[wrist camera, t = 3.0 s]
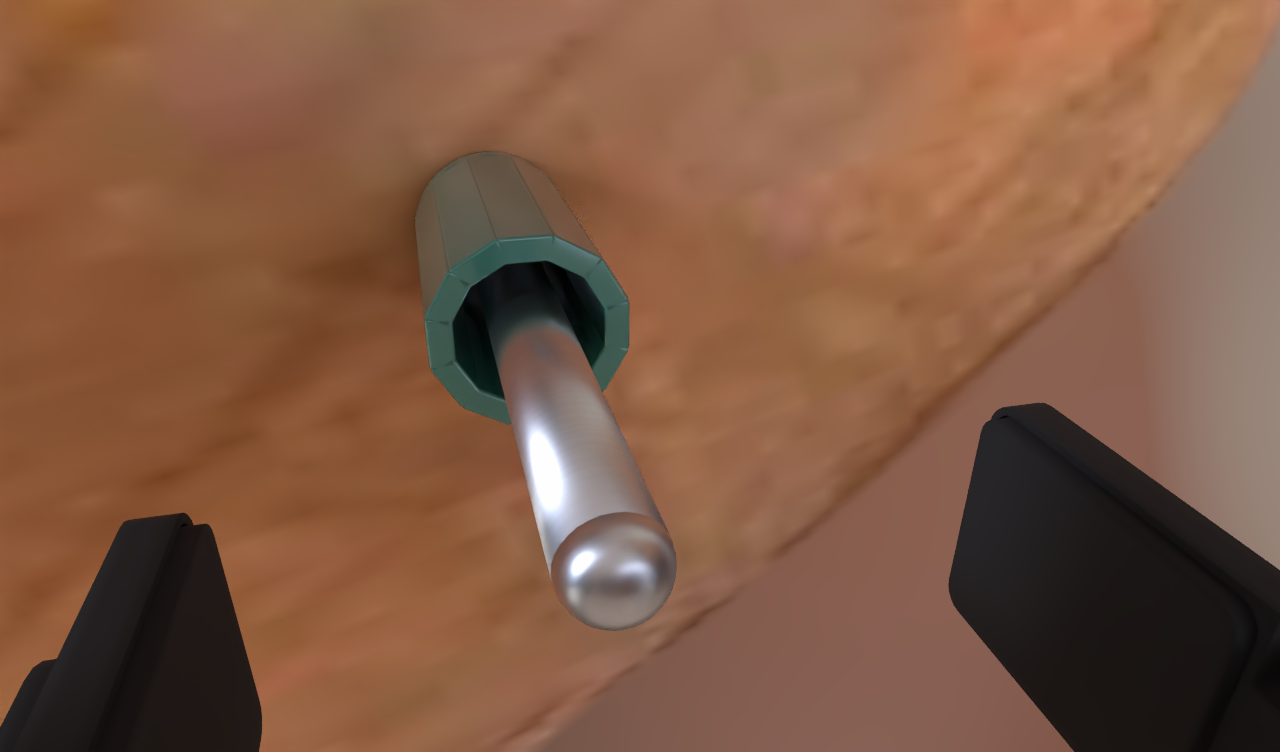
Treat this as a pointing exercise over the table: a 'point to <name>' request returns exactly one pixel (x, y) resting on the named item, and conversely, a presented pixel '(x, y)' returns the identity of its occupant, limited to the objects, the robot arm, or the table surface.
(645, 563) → the silver metal rod
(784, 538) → the table surface
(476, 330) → the pen holder
